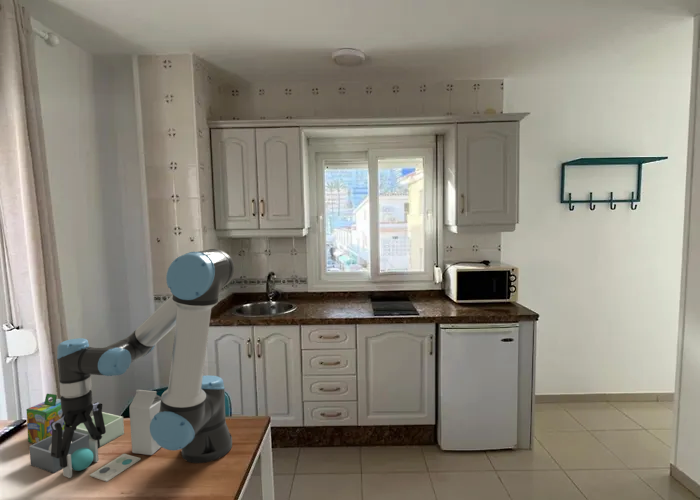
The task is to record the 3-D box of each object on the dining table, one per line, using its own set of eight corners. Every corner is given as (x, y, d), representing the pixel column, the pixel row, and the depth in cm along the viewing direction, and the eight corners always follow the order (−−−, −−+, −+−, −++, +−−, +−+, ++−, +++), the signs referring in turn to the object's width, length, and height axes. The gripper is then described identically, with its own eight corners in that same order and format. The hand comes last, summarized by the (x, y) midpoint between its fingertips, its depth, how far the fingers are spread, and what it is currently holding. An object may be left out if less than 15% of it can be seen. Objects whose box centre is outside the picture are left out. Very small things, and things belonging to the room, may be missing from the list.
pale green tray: (124, 433, 136) (123, 416, 136) (94, 450, 126) (92, 432, 126) (102, 428, 140) (101, 411, 140) (71, 444, 130) (70, 426, 130)
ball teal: (98, 465, 119) (97, 445, 118) (78, 477, 113) (77, 457, 113) (85, 460, 121) (83, 442, 121) (64, 472, 116) (63, 452, 115)
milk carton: (151, 455, 123) (148, 396, 122) (132, 453, 125) (128, 394, 123) (166, 443, 130) (163, 386, 129) (147, 440, 132) (144, 385, 130)
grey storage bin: (90, 453, 125) (88, 434, 125) (54, 473, 115) (52, 453, 115) (67, 446, 129) (66, 428, 129) (30, 465, 119) (29, 446, 119)
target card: (140, 459, 121) (140, 457, 121) (106, 481, 111) (106, 479, 111) (124, 454, 124) (124, 453, 124) (89, 476, 114) (89, 474, 114)
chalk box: (27, 443, 132) (23, 399, 131) (55, 428, 140) (51, 388, 139) (47, 447, 129) (44, 403, 128) (74, 432, 138) (71, 391, 137)
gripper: (100, 378, 126) (104, 447, 128) (29, 406, 108) (36, 486, 109) (116, 381, 123) (121, 452, 125) (47, 410, 105) (53, 493, 107)
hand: (81, 467), depth 117 cm, fingers open, 7 cm apart
